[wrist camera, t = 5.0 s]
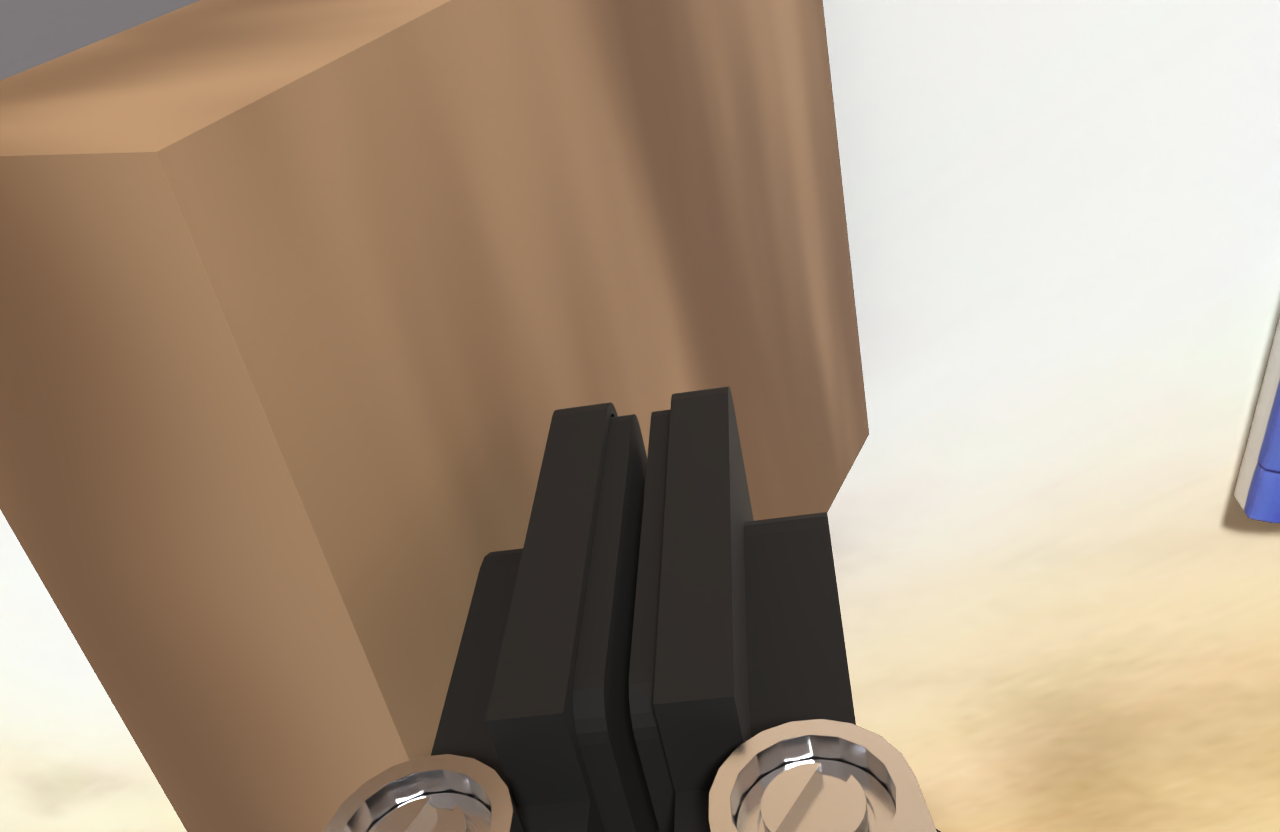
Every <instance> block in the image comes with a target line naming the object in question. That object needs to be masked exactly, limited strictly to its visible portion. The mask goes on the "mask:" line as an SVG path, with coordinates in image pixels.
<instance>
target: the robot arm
mask: <svg viewBox="0 0 1280 832" xmlns="http://www.w3.org/2000/svg"><path fill="white" fill-rule="evenodd" d="M324 832H940V831H939V830H937V829H936V828H935V825H934V823H933V820H932V818H931V815H930V812H929V810H928V807H927V805H926V802H925V799H924V797H923V794H922V792H921V789H920V786H919V784H918V781H917V779H916V776H915V775H914V773H913V771H912V770H911V768H910V766H909V765H908V763H907V762H906V760H905V758H904V757H903V755H902V753H900V752H899V751H898V750H897V749H896V748H894V747H893V746H892V745H891V744H890V743H888V742H887V741H886V740H885V739H883V738H882V737H881V736H880V735H878V734H876V733H873V732H871V731H868V730H866V729H864V728H861V727H859V726H857V725H856V723H855V716H854V708H853V701H852V694H851V686H850V679H849V672H848V664H847V657H846V649H845V642H844V635H843V627H842V620H841V613H840V605H839V598H838V590H837V583H836V576H835V568H834V561H833V554H832V546H831V539H830V532H829V524H828V517H827V512H823V513H815V514H806V515H798V516H790V517H781V518H773V519H764V520H756V521H754V519H753V513H752V507H751V501H750V496H749V490H748V484H747V478H746V473H745V467H744V461H743V455H742V450H741V444H740V438H739V432H738V426H737V421H736V415H735V409H734V404H733V398H732V394H731V390H730V387H729V386H727V387H720V388H712V389H705V390H697V391H690V392H683V393H675V394H672V397H671V409H670V410H662V411H655V412H652V414H651V421H650V433H649V445H648V457H647V455H646V451H645V446H644V442H643V437H642V433H641V429H640V425H639V421H638V419H637V416H636V415H635V414H632V415H625V416H618V415H617V412H616V409H615V407H614V405H613V404H612V402H609V403H602V404H595V405H587V406H580V407H573V408H565V409H558V410H555V411H554V413H553V415H552V419H551V424H550V429H549V433H548V438H547V442H546V447H545V451H544V456H543V460H542V465H541V470H540V474H539V479H538V483H537V488H536V492H535V497H534V502H533V506H532V511H531V515H530V520H529V524H528V529H527V533H526V538H525V543H524V547H523V548H521V549H513V550H505V551H496V552H490V553H488V554H487V555H486V556H485V557H484V559H483V562H482V564H481V567H480V570H479V574H478V577H477V581H476V585H475V589H474V593H473V596H472V600H471V604H470V608H469V612H468V615H467V619H466V623H465V627H464V631H463V634H462V638H461V642H460V646H459V650H458V653H457V657H456V661H455V665H454V669H453V672H452V676H451V680H450V684H449V688H448V691H447V695H446V699H445V703H444V707H443V710H442V714H441V718H440V722H439V726H438V730H437V733H436V737H435V741H434V745H433V749H432V752H431V756H424V757H418V758H415V759H412V760H409V761H406V762H403V763H401V764H398V765H395V766H392V767H390V768H388V769H387V770H385V771H383V772H382V773H380V774H378V775H376V776H375V777H373V778H371V779H370V780H368V781H366V782H365V783H364V784H362V785H361V786H360V787H359V788H358V789H357V790H356V791H355V792H354V793H353V794H352V795H351V796H349V797H348V798H347V799H346V800H345V801H344V802H343V803H342V804H341V806H340V807H339V808H338V810H337V811H336V813H335V814H334V816H333V817H332V819H331V820H330V822H329V823H328V825H327V826H326V828H325V830H324Z"/></svg>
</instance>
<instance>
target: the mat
mask: <svg viewBox="0 0 1280 832" xmlns="http://www.w3.org/2000/svg"><path fill="white" fill-rule="evenodd" d="M197 1H200V0H0V81H1V80H3V79H6V78H8V77H11V76H13V75H16V74H18V73H21V72H23V71H26V70H28V69H31V68H33V67H36V66H38V65H41V64H43V63H46V62H48V61H51V60H53V59H55V58H58V57H60V56H63V55H65V54H68V53H70V52H73V51H75V50H78V49H80V48H83V47H85V46H88V45H90V44H93V43H95V42H98V41H100V40H103V39H105V38H108V37H110V36H113V35H115V34H118V33H120V32H123V31H125V30H128V29H130V28H132V27H135V26H137V25H140V24H142V23H145V22H147V21H150V20H152V19H155V18H157V17H160V16H162V15H165V14H167V13H170V12H172V11H175V10H177V9H180V8H182V7H185V6H187V5H190V4H192V3H195V2H197Z"/></svg>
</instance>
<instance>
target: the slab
mask: <svg viewBox="0 0 1280 832" xmlns="http://www.w3.org/2000/svg"><path fill="white" fill-rule="evenodd" d="M727 386H729V387H730V390H731V394H732V398H733V404H734V409H735V415H736V421H737V426H738V432H739V438H740V444H741V450H742V455H743V461H744V467H745V473H746V478H747V484H748V490H749V496H750V501H751V507H752V513H753V519H754V521H756V520H764V519H773V518H781V517H790V516H798V515H806V514H815V513H823V512H828V510H829V508H830V506H831V504H832V502H833V501H834V499H835V497H836V495H837V493H838V491H839V489H840V487H841V486H842V484H843V482H844V480H845V478H846V476H847V474H848V472H849V471H850V469H851V467H852V465H853V463H854V461H855V459H856V457H857V456H858V454H859V452H860V450H861V448H862V446H863V444H864V442H865V441H866V439H867V437H868V435H869V429H868V420H867V411H866V402H865V392H864V383H863V374H862V364H861V355H860V346H859V336H858V327H857V318H856V308H855V299H854V290H853V280H852V271H851V262H850V252H849V243H848V234H847V224H846V215H845V206H844V196H843V187H842V178H841V168H840V159H839V150H838V140H837V131H836V122H835V112H834V103H833V94H832V84H831V75H830V66H829V56H828V47H827V38H826V28H825V19H824V10H823V0H200V1H197V2H195V3H192V4H190V5H187V6H185V7H182V8H180V9H177V10H175V11H172V12H170V13H167V14H165V15H162V16H160V17H157V18H155V19H152V20H150V21H147V22H145V23H142V24H140V25H137V26H135V27H132V28H130V29H128V30H125V31H123V32H120V33H118V34H115V35H113V36H110V37H108V38H105V39H103V40H100V41H98V42H95V43H93V44H90V45H88V46H85V47H83V48H80V49H78V50H75V51H73V52H70V53H68V54H65V55H63V56H60V57H58V58H55V59H53V60H51V61H48V62H46V63H43V64H41V65H38V66H36V67H33V68H31V69H28V70H26V71H23V72H21V73H18V74H16V75H13V76H11V77H8V78H6V79H3V80H1V81H0V509H1V511H2V513H3V515H4V516H5V518H6V520H7V521H8V523H9V525H10V527H11V528H12V530H13V532H14V533H15V535H16V537H17V539H18V540H19V542H20V544H21V546H22V547H23V549H24V551H25V552H26V554H27V556H28V558H29V559H30V561H31V563H32V565H33V566H34V568H35V570H36V571H37V573H38V575H39V577H40V578H41V580H42V582H43V584H44V585H45V587H46V589H47V590H48V592H49V594H50V596H51V597H52V599H53V601H54V603H55V604H56V606H57V608H58V609H59V611H60V613H61V615H62V616H63V618H64V620H65V622H66V623H67V625H68V627H69V628H70V630H71V632H72V634H73V635H74V637H75V639H76V640H77V642H78V644H79V646H80V647H81V649H82V651H83V653H84V654H85V656H86V658H87V659H88V661H89V663H90V665H91V666H92V668H93V670H94V672H95V673H96V675H97V677H98V678H99V680H100V682H101V684H102V685H103V687H104V689H105V691H106V692H107V694H108V696H109V697H110V699H111V701H112V703H113V704H114V706H115V708H116V710H117V711H118V713H119V715H120V716H121V718H122V720H123V722H124V723H125V725H126V727H127V728H128V730H129V732H130V734H131V735H132V737H133V739H134V741H135V742H136V744H137V746H138V747H139V749H140V751H141V753H142V754H143V756H144V758H145V760H146V761H147V763H148V765H149V766H150V768H151V770H152V772H153V773H154V775H155V777H156V779H157V780H158V782H159V784H160V785H161V787H162V789H163V791H164V792H165V794H166V796H167V798H168V799H169V801H170V803H171V804H172V806H173V808H174V810H175V811H176V813H177V815H178V817H179V818H180V820H181V822H182V823H183V825H184V827H185V829H186V830H187V832H324V830H325V828H326V826H327V825H328V823H329V822H330V820H331V819H332V817H333V816H334V814H335V813H336V811H337V810H338V808H339V807H340V806H341V804H342V803H343V802H344V801H345V800H346V799H347V798H348V797H349V796H351V795H352V794H353V793H354V792H355V791H356V790H357V789H358V788H359V787H360V786H361V785H362V784H364V783H365V782H366V781H368V780H370V779H371V778H373V777H375V776H376V775H378V774H380V773H382V772H383V771H385V770H387V769H388V768H390V767H392V766H395V765H398V764H401V763H403V762H406V761H409V760H412V759H415V758H418V757H424V756H431V752H432V749H433V745H434V741H435V737H436V733H437V730H438V726H439V722H440V718H441V714H442V710H443V707H444V703H445V699H446V695H447V691H448V688H449V684H450V680H451V676H452V672H453V669H454V665H455V661H456V657H457V653H458V650H459V646H460V642H461V638H462V634H463V631H464V627H465V623H466V619H467V615H468V612H469V608H470V604H471V600H472V596H473V593H474V589H475V585H476V581H477V577H478V574H479V570H480V567H481V564H482V562H483V559H484V557H485V556H486V555H487V554H488V553H490V552H496V551H505V550H513V549H521V548H523V547H524V543H525V538H526V533H527V529H528V524H529V520H530V515H531V511H532V506H533V502H534V497H535V492H536V488H537V483H538V479H539V474H540V470H541V465H542V460H543V456H544V451H545V447H546V442H547V438H548V433H549V429H550V424H551V419H552V415H553V413H554V411H555V410H558V409H565V408H573V407H580V406H587V405H595V404H602V403H609V402H612V404H613V405H614V407H615V409H616V412H617V415H618V416H625V415H632V414H635V415H636V416H637V419H638V421H639V425H640V429H641V433H642V437H643V442H644V446H645V451H646V455H647V457H648V445H649V433H650V421H651V414H652V412H655V411H662V410H670V409H671V397H672V394H675V393H683V392H690V391H697V390H705V389H712V388H720V387H727Z"/></svg>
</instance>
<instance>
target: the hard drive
mask: <svg viewBox="0 0 1280 832" xmlns="http://www.w3.org/2000/svg"><path fill="white" fill-rule="evenodd" d="M1234 496H1235V498H1236V499H1237V501H1238V502H1239V504H1240V506H1241V507H1242V509H1243V510H1244V512H1245V513H1246V515H1247V516H1248V518H1251V519H1254V520H1259V521H1265V522H1270V523H1280V317H1279V321H1278V325H1277V329H1276V332H1275V336H1274V340H1273V344H1272V348H1271V352H1270V356H1269V360H1268V364H1267V368H1266V371H1265V375H1264V379H1263V383H1262V387H1261V391H1260V395H1259V398H1258V402H1257V406H1256V410H1255V414H1254V418H1253V422H1252V425H1251V429H1250V433H1249V437H1248V442H1247V446H1246V450H1245V453H1244V456H1243V460H1242V464H1241V468H1240V471H1239V475H1238V479H1237V483H1236V487H1235V491H1234Z"/></svg>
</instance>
